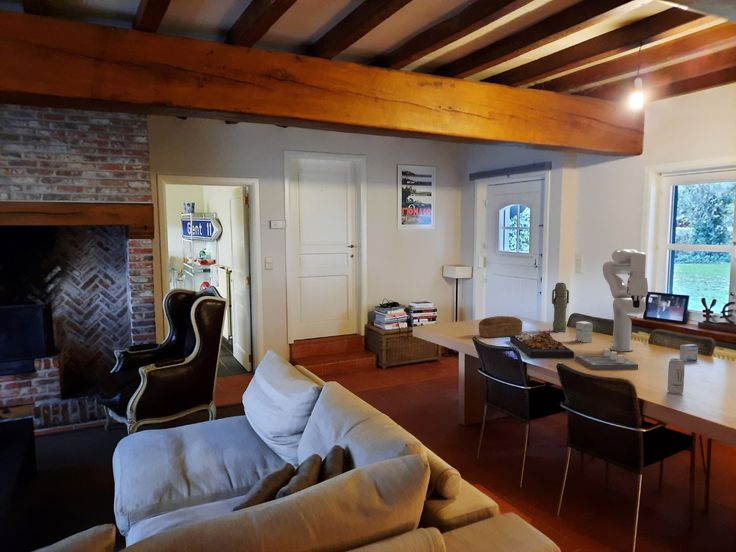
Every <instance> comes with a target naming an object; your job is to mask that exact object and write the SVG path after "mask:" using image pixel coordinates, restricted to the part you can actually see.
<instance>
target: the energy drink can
mask: <svg viewBox="0 0 736 552" xmlns="http://www.w3.org/2000/svg"><path fill="white" fill-rule="evenodd" d="M684 362H685V361H683V360H682V359H680V358H674V357H673V358H670V360H669V361H668V368H667V369H668V370H667V371H668V372H667V374H668V375H667V391H668V393H669V394H672V395H677V396H680V395H682V394H683V393H684V385H685V383H684V382H685V381H684V380H685V369H686V368H685V365H686V364H685V363H684Z"/></svg>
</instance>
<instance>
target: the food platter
mask: <svg viewBox="0 0 736 552" xmlns="http://www.w3.org/2000/svg"><path fill="white" fill-rule="evenodd" d="M509 342H510V343H512V345H514V346H515V347H516V348H518V350H520V351H521V352H522V353H523V354H525V355H526V356H527V357H529V359H574V358H575V351H573V350H572V349H570V348H569V347H567V346H566V345H564V344H563V343H564V342H562V341H559V340H558V341H557V340H556V339H554V338H553V336H552V335H551V328H549V330H548V331H547V330H543V331H540V329H538V333H537V334H534V333H530V332H524V331H523V332H522V334H521V335H511V336H509Z"/></svg>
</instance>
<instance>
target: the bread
mask: <svg viewBox="0 0 736 552" xmlns="http://www.w3.org/2000/svg"><path fill="white" fill-rule="evenodd" d="M523 323H524V322H523V320H521V319H520V318H518V317H515V316H505V315H497V316H496V315H495V316H489V317H486V318H484V319H481V321H479V323H478V334H479V335H480V336H481V337H483V338H497V337H498V338H499V337H501V338H502V337H503V338H504V337H510V336H511V335H522V333H523Z"/></svg>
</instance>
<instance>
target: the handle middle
mask: <svg viewBox="0 0 736 552" xmlns="http://www.w3.org/2000/svg"><path fill="white" fill-rule="evenodd" d="M617 355H618V351H610V359H611V360H617Z"/></svg>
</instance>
